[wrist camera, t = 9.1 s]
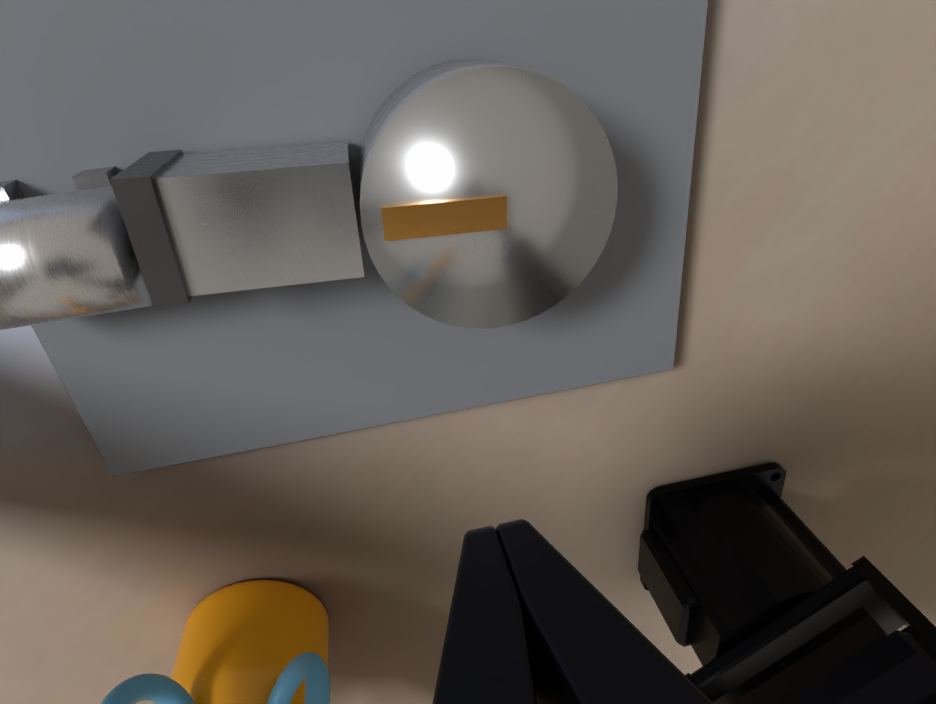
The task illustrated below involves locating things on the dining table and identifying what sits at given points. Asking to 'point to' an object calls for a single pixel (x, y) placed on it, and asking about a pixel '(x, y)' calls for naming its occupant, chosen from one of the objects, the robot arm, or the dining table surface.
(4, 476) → the dining table surface
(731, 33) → the dining table surface
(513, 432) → the dining table surface
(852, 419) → the dining table surface
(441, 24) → the mat
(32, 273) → the duct stub
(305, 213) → the dial knob with block
